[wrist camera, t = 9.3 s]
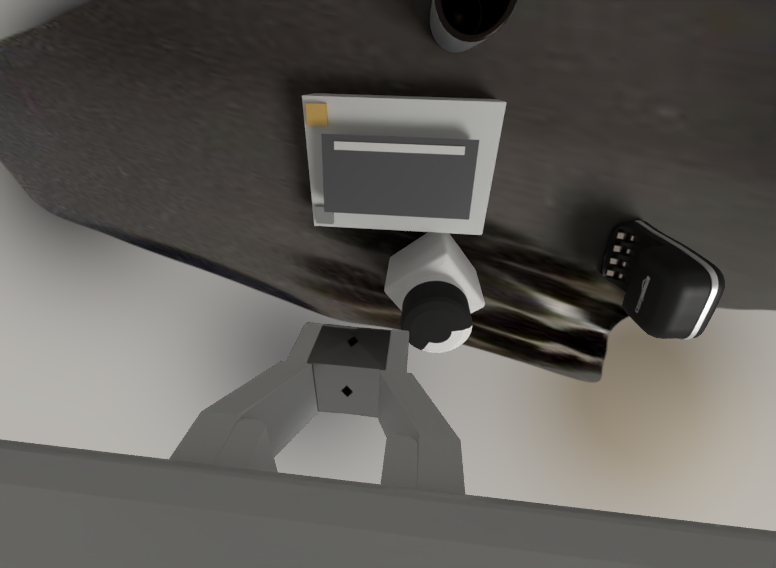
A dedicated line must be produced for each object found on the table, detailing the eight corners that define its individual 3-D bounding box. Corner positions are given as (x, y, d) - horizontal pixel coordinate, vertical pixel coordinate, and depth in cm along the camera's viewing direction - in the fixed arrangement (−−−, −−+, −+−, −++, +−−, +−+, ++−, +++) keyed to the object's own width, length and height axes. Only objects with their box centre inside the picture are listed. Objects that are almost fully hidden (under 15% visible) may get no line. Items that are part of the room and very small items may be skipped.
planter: (429, 54, 28) (432, 45, 19) (430, -18, 26) (434, -65, 17) (485, 51, 28) (514, 39, 19) (491, -23, 25) (528, -74, 17)
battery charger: (605, 219, 34) (678, 276, 24) (646, 217, 34) (737, 274, 24) (589, 278, 38) (648, 349, 28) (626, 277, 37) (699, 348, 28)
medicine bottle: (388, 257, 38) (376, 322, 28) (441, 222, 36) (449, 280, 25) (424, 300, 41) (425, 374, 31) (476, 270, 38) (496, 340, 28)
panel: (496, 99, 29) (508, 102, 25) (476, 219, 35) (483, 238, 31) (315, 93, 30) (298, 96, 26) (324, 211, 36) (311, 228, 32)
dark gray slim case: (475, 139, 27) (479, 139, 25) (466, 215, 29) (469, 220, 27) (327, 134, 28) (320, 133, 26) (329, 208, 30) (323, 212, 28)
